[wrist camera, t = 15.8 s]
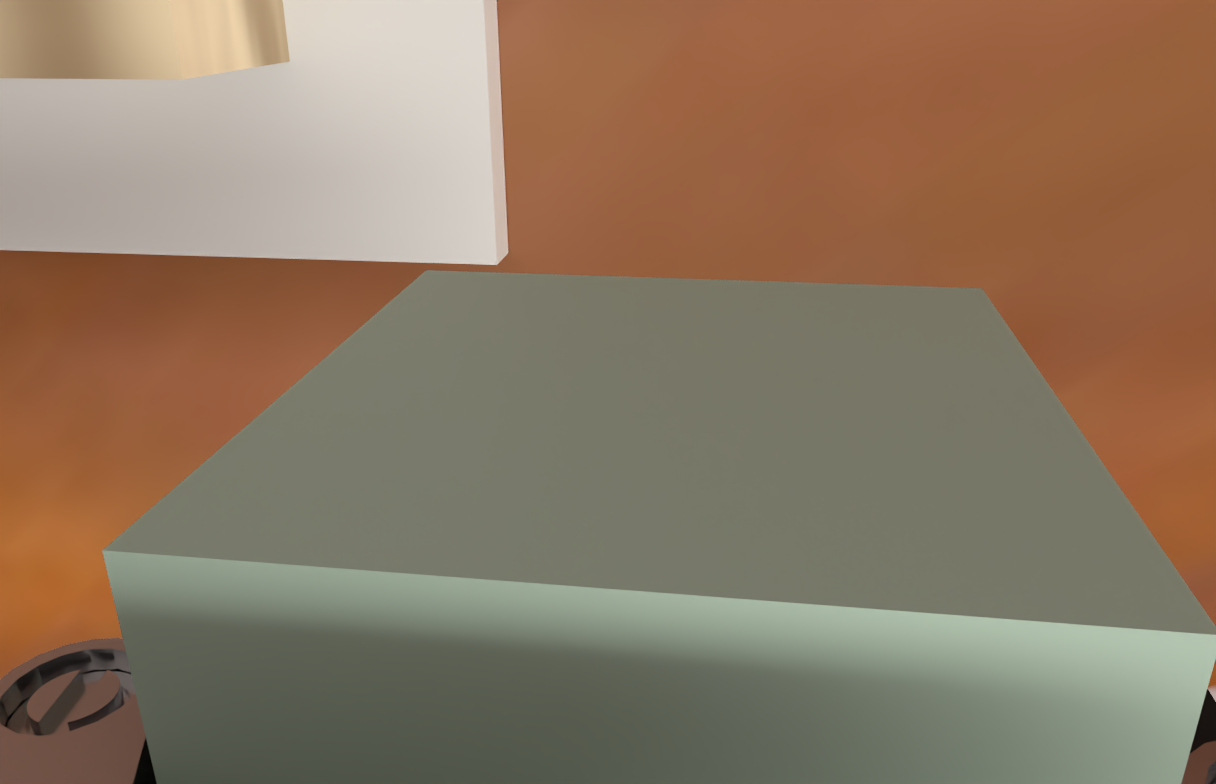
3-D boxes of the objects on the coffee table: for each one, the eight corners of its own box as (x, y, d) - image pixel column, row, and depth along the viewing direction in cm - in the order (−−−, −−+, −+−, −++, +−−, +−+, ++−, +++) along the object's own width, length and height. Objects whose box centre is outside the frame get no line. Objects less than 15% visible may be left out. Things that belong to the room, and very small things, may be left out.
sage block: (982, 288, 10) (1221, 634, 5) (918, 743, 13) (1032, 1325, 7) (425, 270, 11) (102, 550, 6) (460, 700, 14) (252, 1193, 8)
